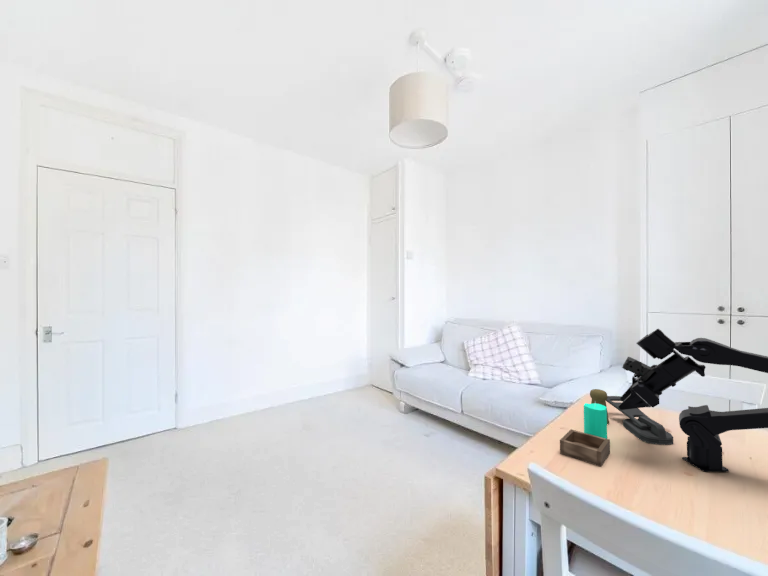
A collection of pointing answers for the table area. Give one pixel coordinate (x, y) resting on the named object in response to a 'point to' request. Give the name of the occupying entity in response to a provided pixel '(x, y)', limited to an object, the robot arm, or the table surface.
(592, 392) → the cork
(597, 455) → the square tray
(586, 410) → the candle
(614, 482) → the table surface
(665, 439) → the zipper pull
